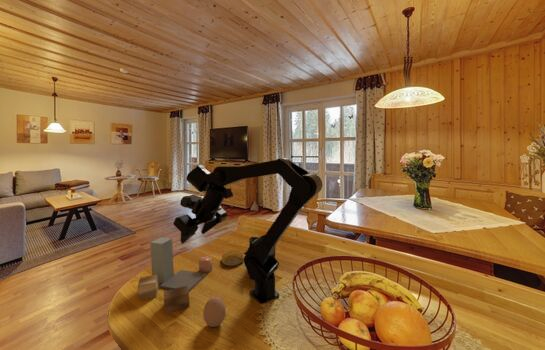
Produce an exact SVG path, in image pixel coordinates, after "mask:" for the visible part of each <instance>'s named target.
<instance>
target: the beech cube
mask: <svg viewBox="0 0 545 350" xmlns="http://www.w3.org/2000/svg"><path fill="white" fill-rule="evenodd" d="M158 290H159V283H158V278H157V275H152V274H151V275H146V276H141V277H139V281H138V284H137V294H138V295H137V296H138V301H142V300H146V299H152V298H157V296H158V292H159V291H158Z"/></svg>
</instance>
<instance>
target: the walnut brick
mask: <svg viewBox="0 0 545 350" xmlns="http://www.w3.org/2000/svg"><path fill="white" fill-rule="evenodd" d="M163 308H164V315H165V314H169V313H172V312H177V311H180V310H183V309H187V308H190V291H189V292H188V288H187V286H183V287H179V288H175V289H166V290H164V291H163Z"/></svg>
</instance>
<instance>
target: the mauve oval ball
mask: <svg viewBox="0 0 545 350" xmlns="http://www.w3.org/2000/svg"><path fill="white" fill-rule="evenodd" d="M226 310H227V309H226V305H225V303H224V301H223V300H222V298H220V297H219V296H212V297H210V298H209V299H208V300H207V301H206V302H205V305H204V307H203V312H202V314H203V320H204V322H205V323H206V325H207V326H208V327H211V328H215V327H219V326H220V325H221V324H222V323H223V322H224V320H225V318H226V312H227V311H226Z"/></svg>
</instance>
